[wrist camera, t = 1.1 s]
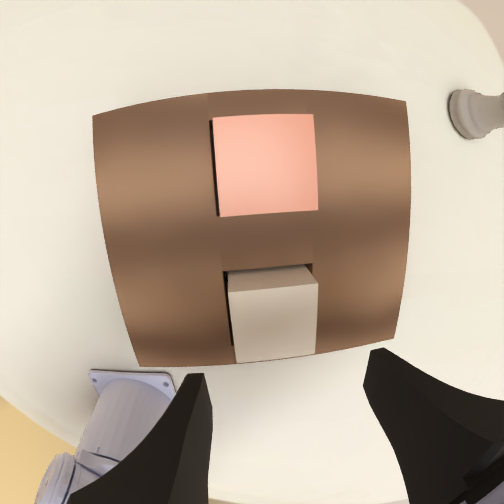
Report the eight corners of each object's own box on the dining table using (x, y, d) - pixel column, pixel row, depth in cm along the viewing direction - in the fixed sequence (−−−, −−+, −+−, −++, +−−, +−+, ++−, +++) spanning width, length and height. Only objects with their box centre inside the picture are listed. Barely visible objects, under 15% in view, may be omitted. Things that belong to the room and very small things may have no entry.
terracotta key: (299, 201, 16) (318, 210, 12) (222, 206, 15) (220, 217, 12) (295, 125, 14) (313, 114, 11) (216, 128, 14) (212, 117, 11)
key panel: (376, 318, 20) (393, 338, 18) (149, 342, 20) (139, 366, 17) (382, 108, 16) (405, 101, 13) (112, 122, 15) (92, 115, 12)
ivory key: (301, 322, 18) (314, 353, 15) (235, 329, 18) (236, 363, 14) (301, 260, 17) (318, 283, 13) (228, 267, 17) (227, 292, 13)
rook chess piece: (443, 84, 15) (513, 69, 7) (474, 96, 15) (539, 89, 8) (449, 135, 16) (524, 135, 9) (479, 143, 17) (547, 147, 9)
